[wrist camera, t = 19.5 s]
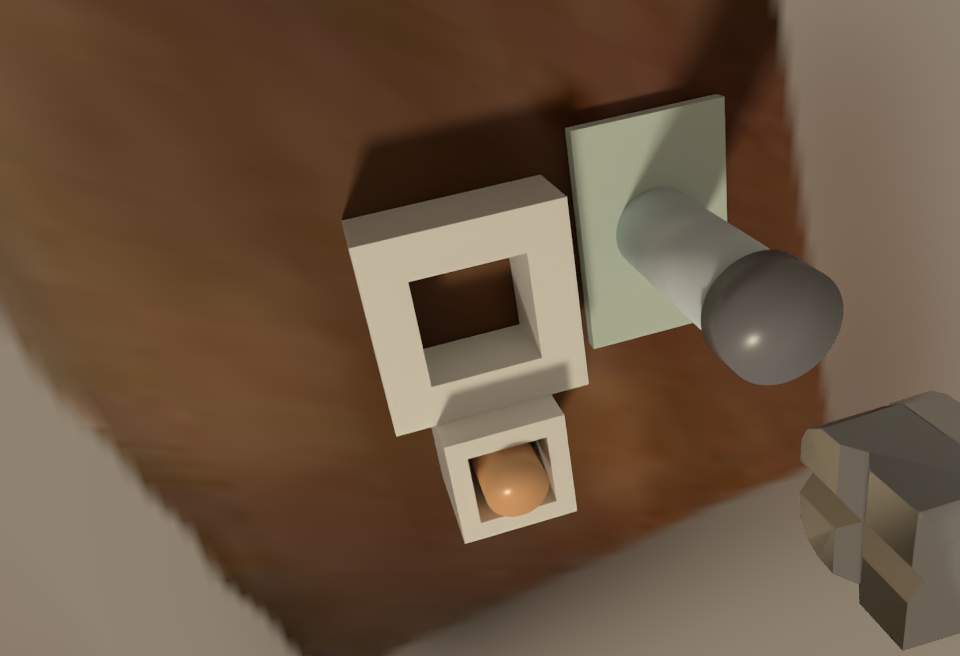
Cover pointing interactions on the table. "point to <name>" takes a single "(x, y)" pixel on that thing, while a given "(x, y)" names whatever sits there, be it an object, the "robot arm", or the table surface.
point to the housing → (479, 336)
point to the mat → (622, 177)
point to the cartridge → (732, 287)
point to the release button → (512, 480)
